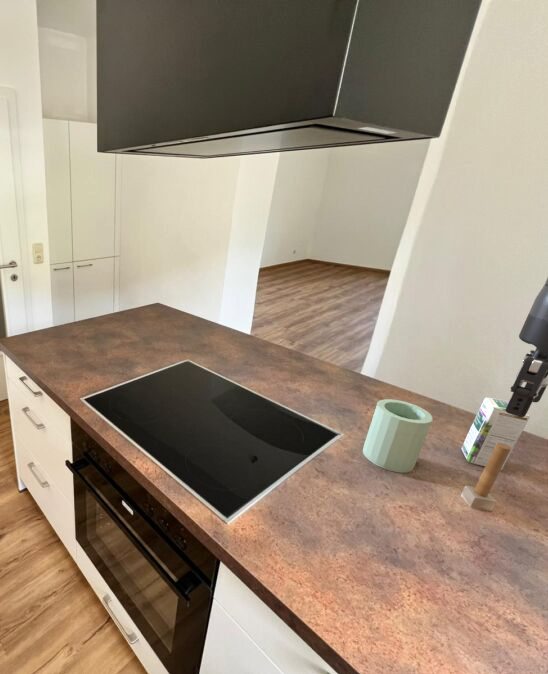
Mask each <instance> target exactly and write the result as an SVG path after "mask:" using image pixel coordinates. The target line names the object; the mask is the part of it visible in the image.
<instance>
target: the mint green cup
mask: <svg viewBox="0 0 548 674" xmlns="http://www.w3.org/2000/svg"><path fill="white" fill-rule="evenodd" d="M433 420H434V419H433V416H432V414H431V413H430V412H429V411H427V410H426V409H424V408H423V407H420V406H418V405H416V404H414V403H410V402H408V401H404V400H399V399H391V398H385V399H380V400H378V401H377V403H376V406H375V409H374V412H373V415H372V419H371V421H370V424H369V428H368V431H367V435H366V438H365V441H364V445H363V448H362V454H363V455H364V457H365V458H366V459H367V460H368V461H369V462H371V463H372V464H373V465H375V466H377V467H379V468H381V469H384V470H387V471H389V472H394V473H399V474H400V473H401V474H406V473H410V472H412V471H413V470H414V468H415V466H416V464H417V461H418V460H419V459H418V458H419V456H420V453H421V451H422V448H423V445H424V443H425V440H426V438H427V435H428V433H429V430H430V428H431V425H432V423H433Z"/></svg>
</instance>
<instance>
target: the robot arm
mask: <svg viewBox="0 0 548 674" xmlns="http://www.w3.org/2000/svg"><path fill="white" fill-rule="evenodd" d="M518 338H519V340H521V341H522V342H523V343H525V344H528V345H532V346H534V347H535V350H533V349H531V350H530V351H529V353H528V352H527V353H526V354H525V355H524V357H523V359H522V365H521V367H520V368H519V370H518V372H517V373H516V379H515V380H514V382H513V384H512V385H511V387H510V392H512V394H511V397H510V399H509V400H508V401H509V403H508V405H507V407H506V409H505V411H506V412H507V413H509V414H512V415H515V416H518V417H524V416H525V415H526V414H528V411H529V410H530V407H531V406H532V404H533V403H539V402H540V401H541V399H542V397H543V395H544V393H545V391H546V389H547V387H548V277H547V278H546V280H545V283H544V284H543V286H542V288H541V289H540V291H539V292H538V294H537V295H536V296H535V299H534V301H533V303H532V305H531V307H530V310H529V312H528V314H527V316H526V318H525V321H524V323H523V325H522V327H521V330H520V332H519V334H518ZM524 383H525V385H524V386H523V384H524Z"/></svg>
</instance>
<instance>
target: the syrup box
mask: <svg viewBox="0 0 548 674" xmlns="http://www.w3.org/2000/svg"><path fill="white" fill-rule="evenodd" d="M509 401H510V400H504V399H500V398H494V397H493V398H492V397H485V398H484V399H483V401H482V403H481V406H480V407H479V410H478V412H477V413H476V416H475V417H474V420H473V422H472V424H471V426H470V429H469V431H468V432H467V434H466V437H465V439H464V442H463V444H462V446H461V449H460V450H461V451H462V453H463V455H464V457H465V460H466V461H467V462H468V463H470V464H473V465H477V466H480V467H485V466H486V464H487V462H488V460H489V458H490V456H491V454H492V452H493V450H494V448H495V446H496V444H497V443H503V444H506V445H508V446H510V447H511V450H510V452H509V454H508V456H507V458H506V460H505V462H504V464H503V466H502V468H501V470H500V471H502V470H503V469H504V467H505V466H506V463H507V461H508V460H509V457H510V456H511V454H512V452H513V450H514V448H515V446H516V444H517V442H518V441H519V438H520V437H521V435H522V433H523V431H524V429H525V427H526V425H527V424H528V421H529V419H530V417H531V415H529V414H528V413H527V414H526V415H525V416H524V417H518V416H515V415H512V414H509V413H507V412H506V411H505V409H506V407H507V405H508V403H509Z"/></svg>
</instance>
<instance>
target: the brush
mask: <svg viewBox="0 0 548 674" xmlns="http://www.w3.org/2000/svg"><path fill="white" fill-rule="evenodd" d="M510 450H511V447H510V446H508V445H506V444H503V443H497V444H496V446H495V448H494V450H493V452H492V454H491V456H490V458H489V460H488V462H487V464H486V466H484V469H483V471H482V473H481V475H480V477H479V479H478V481H477V483H476V485H475V486H470V485H464V487H463V489H462V491H461V493H460V496H461V498H462V499H463V500H464V501H465V503H466V504H467V506H468V507H469V508H472V509H476V510H481V511H485V512H493V509H494V508H495V506H496V504H497V499H495V498H494V497H493V496H492V495H491V493H490V491H491V490H492V488H493V485H494V483H495V482H496V479H497V478H498V476H499V474H500V472H501V471H502V470H501V468H502V466H503V464H504V462H505V460H506V458H507V456H508V454H509V452H510Z"/></svg>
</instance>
